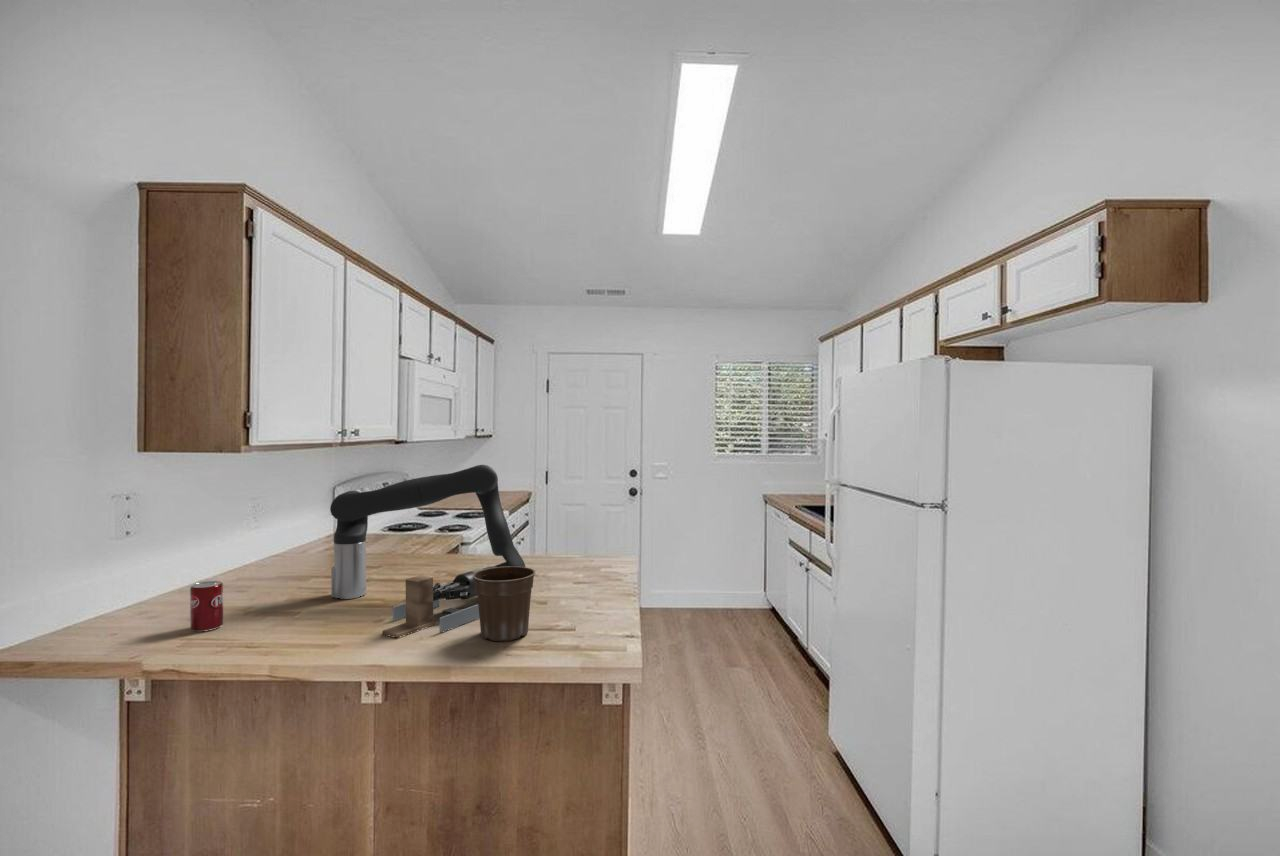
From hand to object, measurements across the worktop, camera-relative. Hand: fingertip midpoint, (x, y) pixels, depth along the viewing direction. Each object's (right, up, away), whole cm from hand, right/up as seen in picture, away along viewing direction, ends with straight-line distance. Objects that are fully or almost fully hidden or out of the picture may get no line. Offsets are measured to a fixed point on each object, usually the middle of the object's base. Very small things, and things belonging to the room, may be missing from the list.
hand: (426, 598), depth 170 cm
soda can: (-58, -7, -4) cm, 58 cm away
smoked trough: (+2, -7, +4) cm, 8 cm away
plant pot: (+23, -7, -8) cm, 26 cm away
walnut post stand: (-3, -7, -5) cm, 9 cm away
